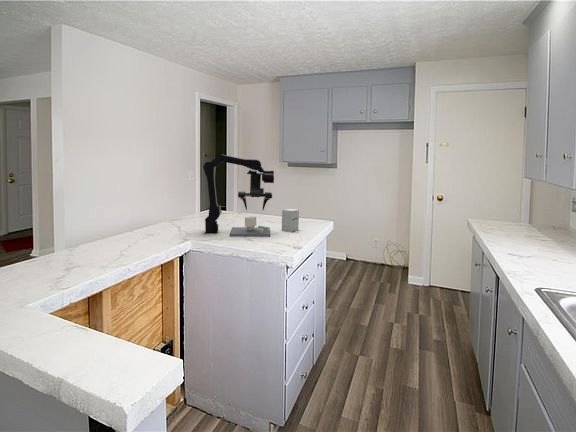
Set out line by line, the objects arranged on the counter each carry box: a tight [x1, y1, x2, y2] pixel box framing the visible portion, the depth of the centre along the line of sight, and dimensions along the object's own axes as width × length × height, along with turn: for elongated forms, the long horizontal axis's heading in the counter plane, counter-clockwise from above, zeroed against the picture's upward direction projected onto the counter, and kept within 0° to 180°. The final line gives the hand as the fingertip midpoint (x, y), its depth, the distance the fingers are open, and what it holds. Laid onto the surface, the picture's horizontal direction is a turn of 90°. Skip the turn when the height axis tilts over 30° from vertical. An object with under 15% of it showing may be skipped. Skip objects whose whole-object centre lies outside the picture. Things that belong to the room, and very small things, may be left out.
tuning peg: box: [244, 215, 264, 231], centre depth 205 cm, size 12×6×8 cm, turn 49°
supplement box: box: [281, 208, 300, 233], centre depth 216 cm, size 7×7×13 cm
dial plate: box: [229, 225, 271, 238], centre depth 208 cm, size 22×17×3 cm
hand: (254, 210), depth 207 cm, fingers open, 9 cm apart
